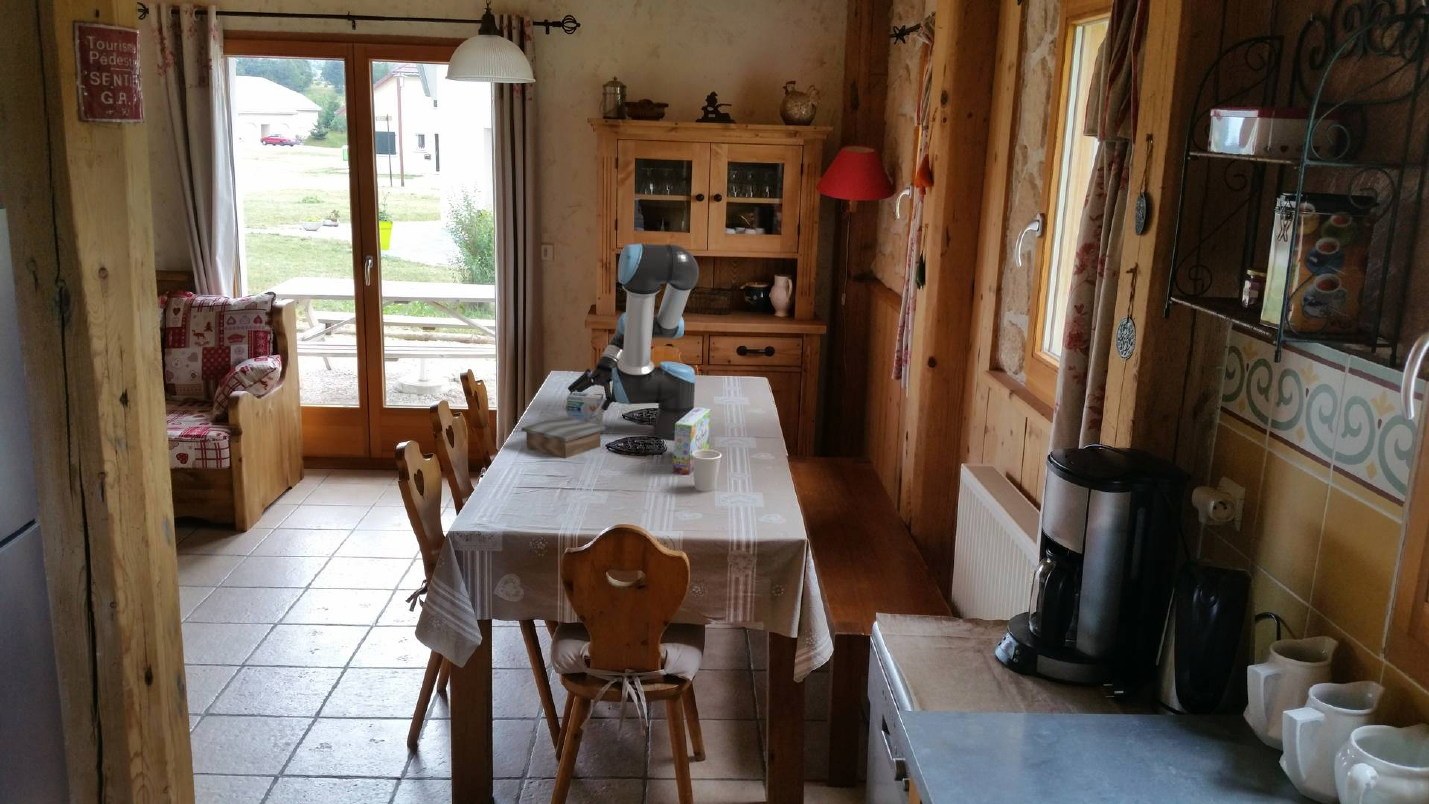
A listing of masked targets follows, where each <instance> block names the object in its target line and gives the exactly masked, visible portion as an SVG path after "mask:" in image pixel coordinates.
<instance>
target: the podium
mask: <svg viewBox="0 0 1429 804" xmlns="http://www.w3.org/2000/svg"><path fill="white" fill-rule="evenodd" d="M604 430H606V426H605V425H598V424H593V423H589V422H585V421H580V420H576V419H572V418H567V416H561V415H560V416H557V417H554V418H551V419H547V420H543V421H541V422H537V423H534V424H533V423H532V424H530V425H526V426H522V427H521V432H525V433H526V434H525V435H526V438H525V439H526V443H525V444H526V447H525V448H526V449H529V450H534V451H538V452H541V453H545V454H549V455H552V456H556V457H560V458H563V457H564V459H567V458H570V457H573V456H576V455H579V454H582V452H583V453H585V452H588V451H591V449H592V450H594V449H598V448H600V447H601V440H602V439H601V437H602V435H601V432H602V431H604Z"/></svg>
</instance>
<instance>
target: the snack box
mask: <svg viewBox="0 0 1429 804" xmlns="http://www.w3.org/2000/svg"><path fill="white" fill-rule="evenodd" d="M710 420H711V408H704V407H695V406H694V408H693V409H692V410H691V411H690V412H689V413H687V414H686V415H685V416H684V417H683V418H681V419H680V420H679V421H678V422H677V423H675V440H673V441H674V444H673V445H674V446H673V460H672V461H673V464H672V473H674V474H680V475H681V474H682V475H685V476H688V475H690V474H691V473H692V472H693V461H692V456H691V454H692V452H694V451H697V450H709V440H710V439H709V438H710V437H709V436H710Z"/></svg>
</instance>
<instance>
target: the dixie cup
mask: <svg viewBox="0 0 1429 804" xmlns="http://www.w3.org/2000/svg"><path fill="white" fill-rule="evenodd" d="M691 456H692V461H693V471H692V472H693V479H694V489H695V490H696V491H699V492H703V493H707V492H708V493H709V492H714V491H715V490H716V487H717V482H718V481H717V480H718V476H719V474H718V473H719V468H720V463H721V458H722V453H721V452H719V451H716V450H712V449H708V450H697V451H694V452H692V454H691Z"/></svg>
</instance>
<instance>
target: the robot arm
mask: <svg viewBox="0 0 1429 804" xmlns="http://www.w3.org/2000/svg"><path fill="white" fill-rule="evenodd" d="M620 252H621V253H620V256H619V260H618V265H617V268H618V269H617V279H618V283H620V284H622V288H623V289H624V291H625V292H626V304H625V305H626V306H625V312H623V313H622V314H621V315H620V317H619V319H618V320H617V323H616V324H617V325H616V327H615V331H614V334H613V335H612V337H611V340H610V341H609V343H608V345H607V346H606V348H605V350H604V351H603V353H602V355H601V357H600V358H599V360H598V361H597V363H596V367H595V370H594V371H593V370H591V369H590V368H586V369H585V370H584V372H583V373H582V374H581V375H580V376H579V377H578V378H577V379H576V380H575V381H573V382H572V383H571V384H570V385H569V386H568V387H567V390H568V391H569V392H570V393H569V394H568V395H570V394H571V393H572V392H585V390H586V391H587V389H589V388H590V387H595V386H600V387H603V388H604V389H603V390H604V394H605V397H604V398H603V400H602V402H601V404H600V405H599V407H598V409H597V411H596V412H595V414H594V415H595V417H596V418H597V419H599V420H600V418H601V416H602V415H603V416H604V413H605V411H607V410H608V409H609V407H610V405H611V404H612V403H618V404H620V405H623V404H624V405H629V406H631V405H641V404H643V405H644V404H645V405H646V404H649V405H651V404H657V405H658V408H657V413H656V416H655V417H654V420H653V421H654V422H653V425H652V427H651V428H652V430H651V431H652V432H651V434H652V435H653V436H654V437H656V438H660V439H665V440H671V441H672V440H673V441H674V440H675V423H677V422H678V421H679V420H680V419H681V418H683V417H684V416H685V415H686V414H687V413H689V412H690V411H691V410H692V409H693V408H695V392H696V391H695V390H696V389H695V387H696V373H695V372H696V371H695V368H693V367H692V366H691V365H687V364H686V363H683V362H682V363H680V362H675V361H660V362H659V364H658V366H657V367H655V363H654V362H653V361H652V360H651V350H652V341H653V340H652V339H672V340H673V339H677V338H679V339H680V338H682V337H683V336H684V331H685V321H684V318H683V316H682V315H683V313H684V310H685V307H686V305H687V301H688V298H689V295H690V293H691V291H692V289H694V288H695V286H696V285H697V284H698V283H697V282H698V280H699V275H700V270H699V269H700V268H699V266H698V262H697V260H696V259H695V257H694V256H693V255H692V253H691V252H690V251H689V250H687V249H686V248H684V247H683V246H680V245H678V244H671V243H669V244H660V243H659V244H654V243H653V244H649V243H645V244H644V243H636V244H626V245H625V246H624V247H623V248H622V249H621V251H620ZM663 284H666V286H665V290H664V294H663V297H662V300H661V304H660V306H659V310H658V313H657V315H654V314H655V304H656V303H655V301H656V295H657V294H658V293H659V292H660V291H661V289H662V285H663ZM611 382H612V384H610V383H611ZM611 387H612V388H611ZM562 408H563V410H564V411H565V412H566V413H567V401H566V402H565V404H564V406H563V407H562Z"/></svg>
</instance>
